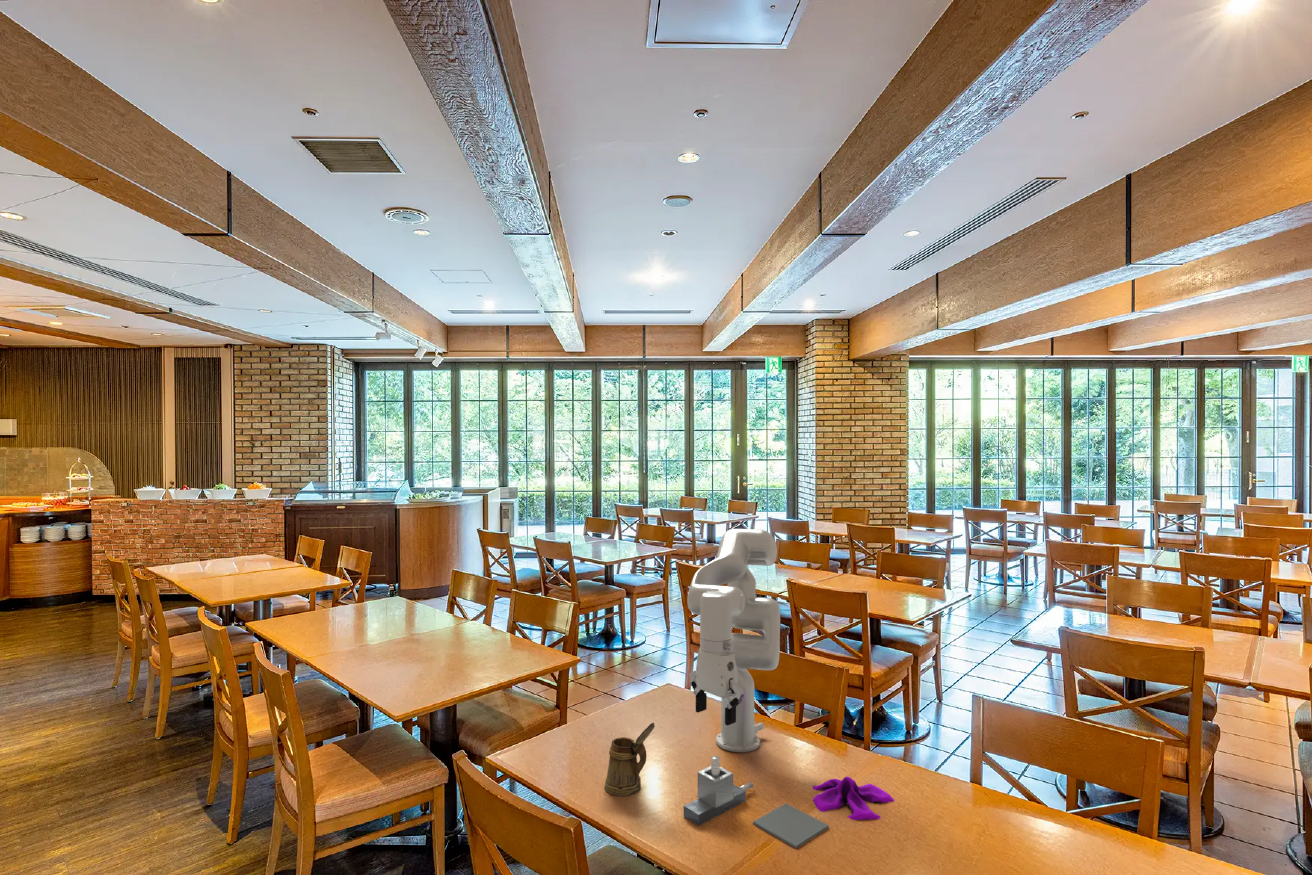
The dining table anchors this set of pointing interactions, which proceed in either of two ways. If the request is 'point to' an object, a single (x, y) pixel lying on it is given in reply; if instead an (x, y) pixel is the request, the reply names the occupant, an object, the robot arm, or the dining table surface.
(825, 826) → the slate pad
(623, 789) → the wooden mug
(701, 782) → the steel collar
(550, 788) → the dining table surface
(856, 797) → the cloth
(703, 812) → the block
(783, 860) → the dining table surface
